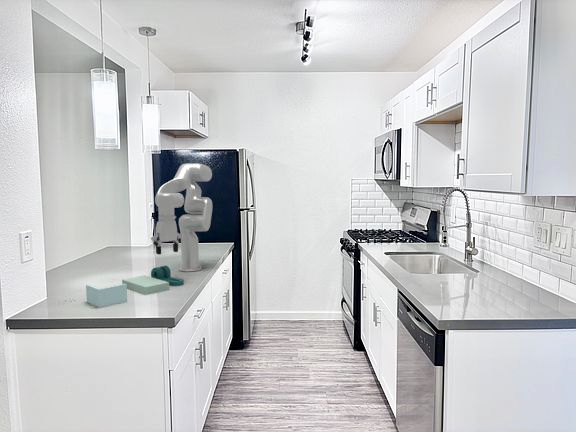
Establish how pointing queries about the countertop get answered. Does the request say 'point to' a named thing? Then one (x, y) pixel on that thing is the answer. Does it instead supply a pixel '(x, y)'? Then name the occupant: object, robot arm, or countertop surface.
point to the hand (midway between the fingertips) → (167, 253)
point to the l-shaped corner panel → (106, 295)
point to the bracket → (166, 276)
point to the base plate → (146, 284)
